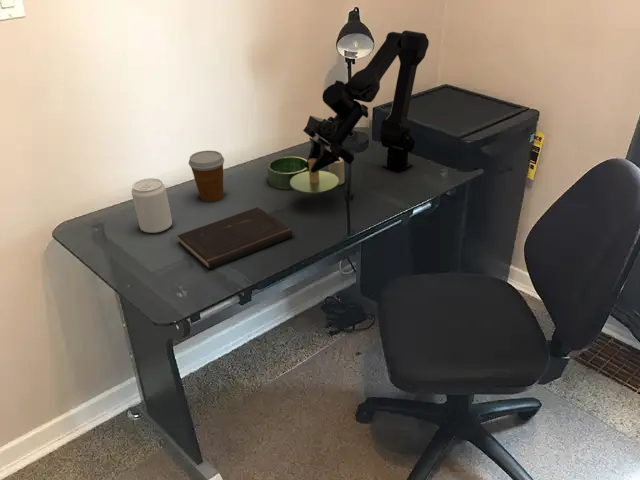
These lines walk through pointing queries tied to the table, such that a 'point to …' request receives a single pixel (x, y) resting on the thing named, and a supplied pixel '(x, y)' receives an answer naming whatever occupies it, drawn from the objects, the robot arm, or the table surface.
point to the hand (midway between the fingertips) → (309, 169)
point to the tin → (285, 171)
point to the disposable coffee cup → (208, 174)
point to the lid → (314, 181)
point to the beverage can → (151, 205)
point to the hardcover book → (234, 237)
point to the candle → (337, 170)
